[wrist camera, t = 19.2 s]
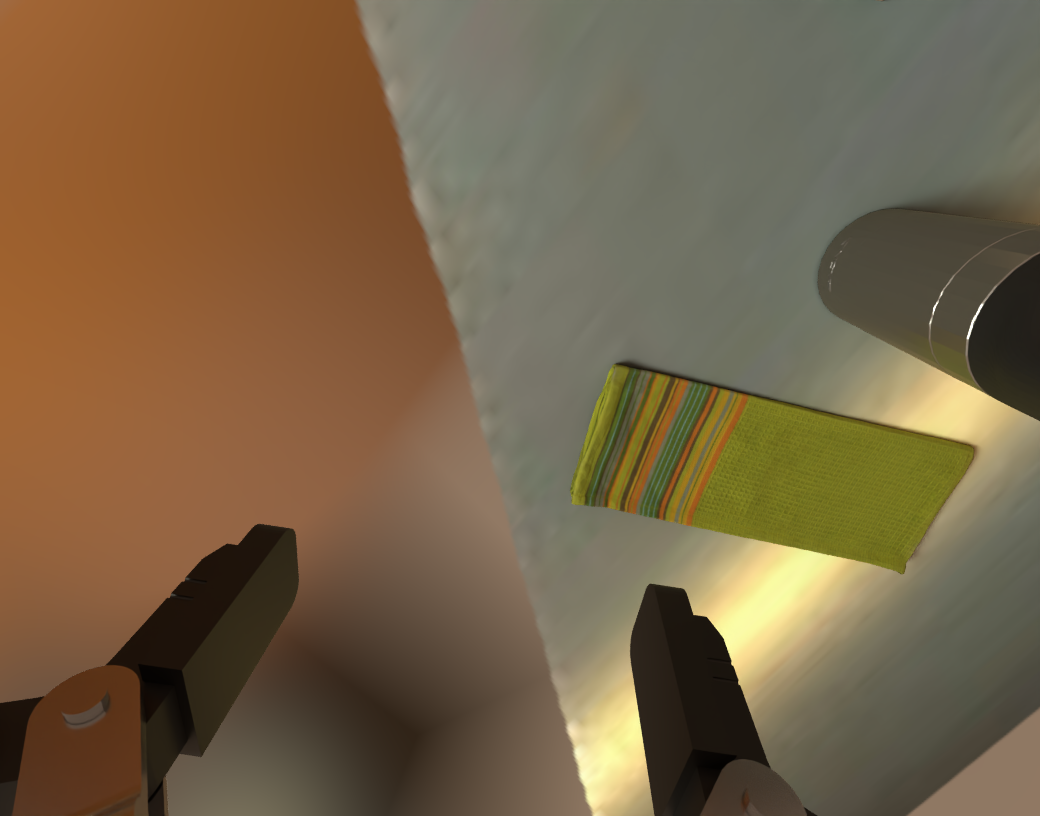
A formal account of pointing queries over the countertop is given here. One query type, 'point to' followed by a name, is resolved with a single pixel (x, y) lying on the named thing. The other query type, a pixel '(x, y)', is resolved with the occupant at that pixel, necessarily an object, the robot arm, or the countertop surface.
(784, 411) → the dish towel
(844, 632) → the countertop surface
